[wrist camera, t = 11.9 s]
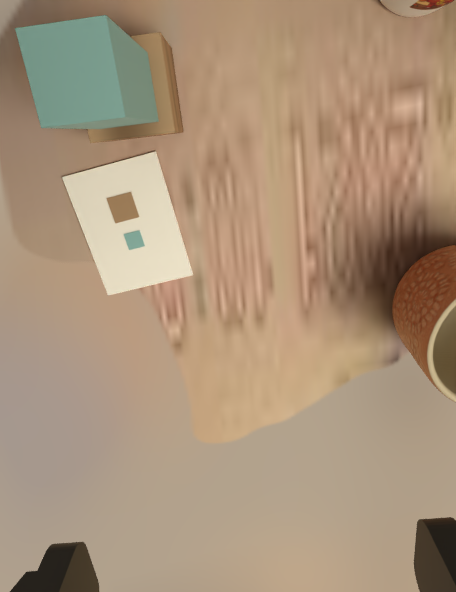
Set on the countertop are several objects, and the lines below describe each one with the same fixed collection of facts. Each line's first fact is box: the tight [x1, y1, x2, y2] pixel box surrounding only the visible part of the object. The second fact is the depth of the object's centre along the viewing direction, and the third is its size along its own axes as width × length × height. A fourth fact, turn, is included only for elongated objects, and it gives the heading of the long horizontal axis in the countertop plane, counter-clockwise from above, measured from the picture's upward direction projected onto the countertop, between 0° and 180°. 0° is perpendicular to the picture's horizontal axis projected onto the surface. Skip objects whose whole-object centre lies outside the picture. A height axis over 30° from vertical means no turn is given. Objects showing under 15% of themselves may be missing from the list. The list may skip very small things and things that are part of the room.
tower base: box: [87, 32, 183, 143], centre depth 33 cm, size 6×6×6 cm
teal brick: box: [15, 15, 159, 129], centre depth 25 cm, size 4×4×10 cm
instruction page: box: [62, 151, 193, 295], centre depth 39 cm, size 9×12×1 cm
